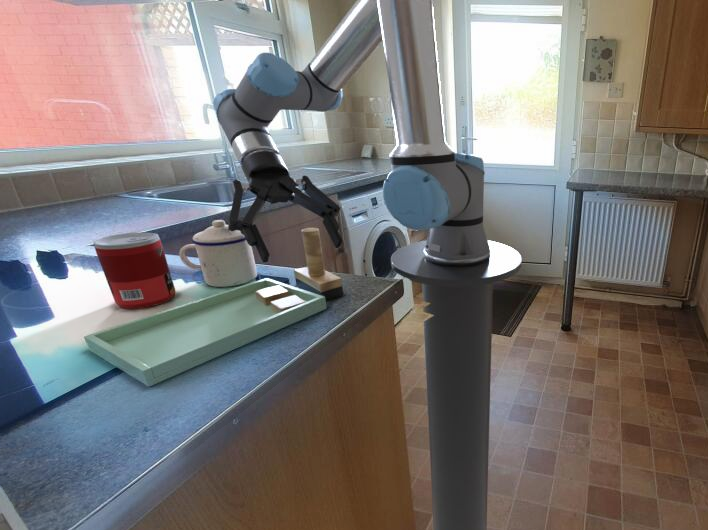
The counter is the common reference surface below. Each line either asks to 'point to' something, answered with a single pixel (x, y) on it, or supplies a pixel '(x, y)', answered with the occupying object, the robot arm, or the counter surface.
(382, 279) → the counter surface
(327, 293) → the brush
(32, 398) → the counter surface
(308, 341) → the counter surface
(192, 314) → the tray
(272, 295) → the cork piece
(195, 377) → the counter surface
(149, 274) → the canned food
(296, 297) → the cork piece
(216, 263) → the teacup with lid
